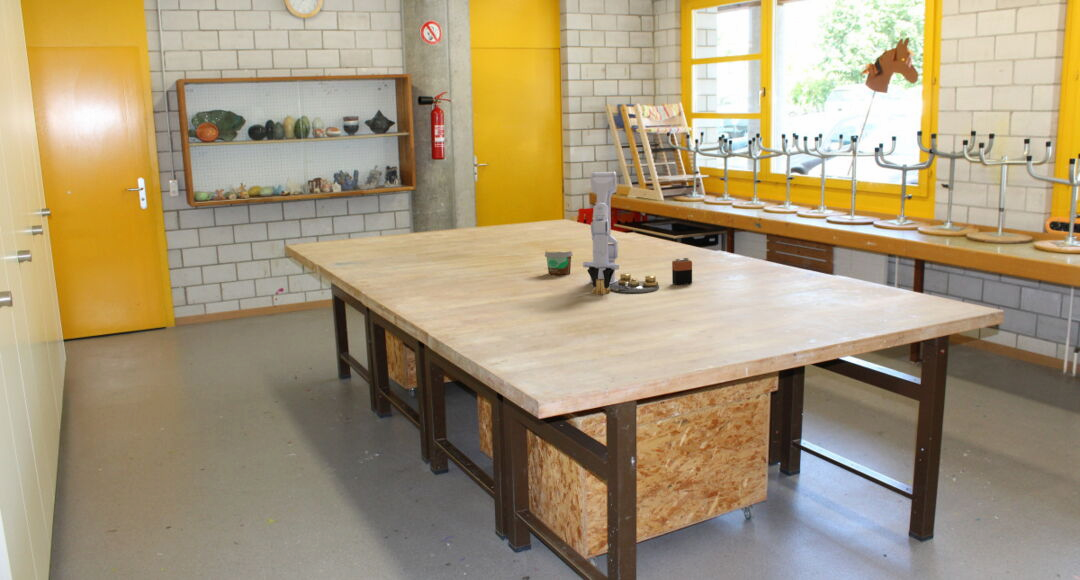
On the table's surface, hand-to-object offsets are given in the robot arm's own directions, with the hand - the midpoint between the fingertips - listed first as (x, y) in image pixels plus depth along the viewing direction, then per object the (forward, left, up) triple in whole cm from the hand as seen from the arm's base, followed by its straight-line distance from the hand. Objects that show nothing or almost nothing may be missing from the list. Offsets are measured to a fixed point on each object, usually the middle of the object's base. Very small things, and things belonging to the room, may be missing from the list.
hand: (601, 287), depth 339 cm
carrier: (+8, +11, -2) cm, 14 cm away
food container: (-35, +24, -2) cm, 42 cm away
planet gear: (0, 0, -2) cm, 2 cm away
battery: (+21, +27, -2) cm, 34 cm away
